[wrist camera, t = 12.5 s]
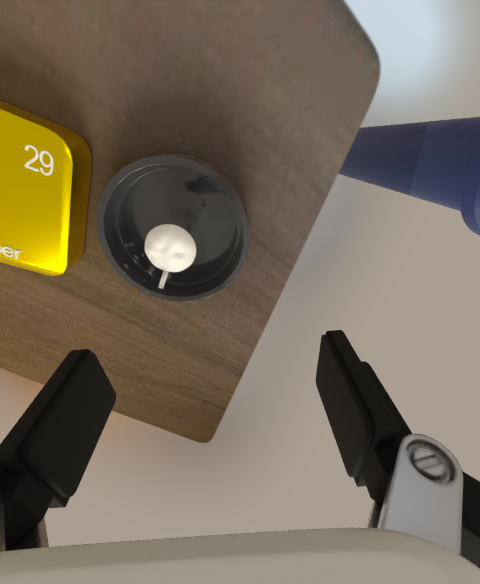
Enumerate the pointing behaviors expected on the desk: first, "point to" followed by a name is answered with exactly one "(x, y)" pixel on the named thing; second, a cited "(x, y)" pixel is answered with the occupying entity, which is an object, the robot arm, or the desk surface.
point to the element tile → (41, 192)
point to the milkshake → (172, 244)
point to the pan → (160, 206)
